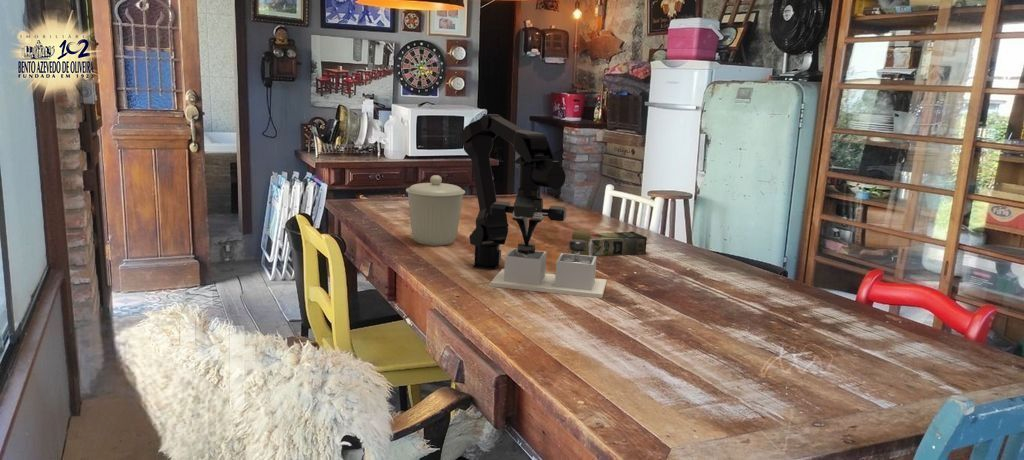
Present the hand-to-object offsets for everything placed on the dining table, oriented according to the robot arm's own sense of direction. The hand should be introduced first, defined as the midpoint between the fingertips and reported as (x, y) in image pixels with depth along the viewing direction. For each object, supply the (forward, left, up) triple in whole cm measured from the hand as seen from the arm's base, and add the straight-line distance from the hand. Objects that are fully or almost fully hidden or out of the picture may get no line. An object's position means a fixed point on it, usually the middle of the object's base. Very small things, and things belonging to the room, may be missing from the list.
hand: (526, 244), depth 186 cm
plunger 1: (0, 0, -6) cm, 6 cm away
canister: (-35, +34, -10) cm, 50 cm away
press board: (+7, 0, -10) cm, 12 cm away
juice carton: (+19, +44, -11) cm, 49 cm away
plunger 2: (+13, 0, -4) cm, 14 cm away
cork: (+12, +19, -10) cm, 25 cm away
